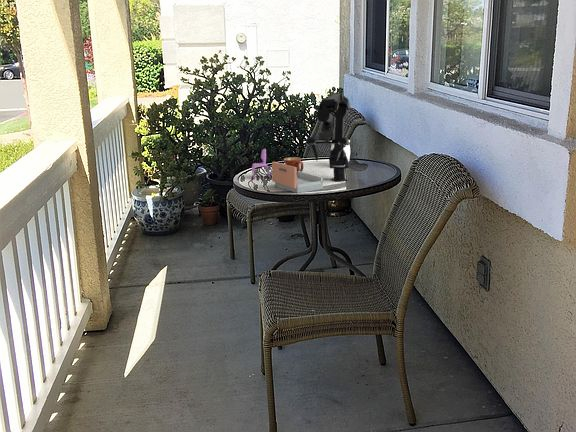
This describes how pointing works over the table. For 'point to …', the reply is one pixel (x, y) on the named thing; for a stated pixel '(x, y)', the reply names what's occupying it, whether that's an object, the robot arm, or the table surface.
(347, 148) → the jar
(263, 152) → the toy chair
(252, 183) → the table surface
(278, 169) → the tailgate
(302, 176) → the bed
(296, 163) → the mug
